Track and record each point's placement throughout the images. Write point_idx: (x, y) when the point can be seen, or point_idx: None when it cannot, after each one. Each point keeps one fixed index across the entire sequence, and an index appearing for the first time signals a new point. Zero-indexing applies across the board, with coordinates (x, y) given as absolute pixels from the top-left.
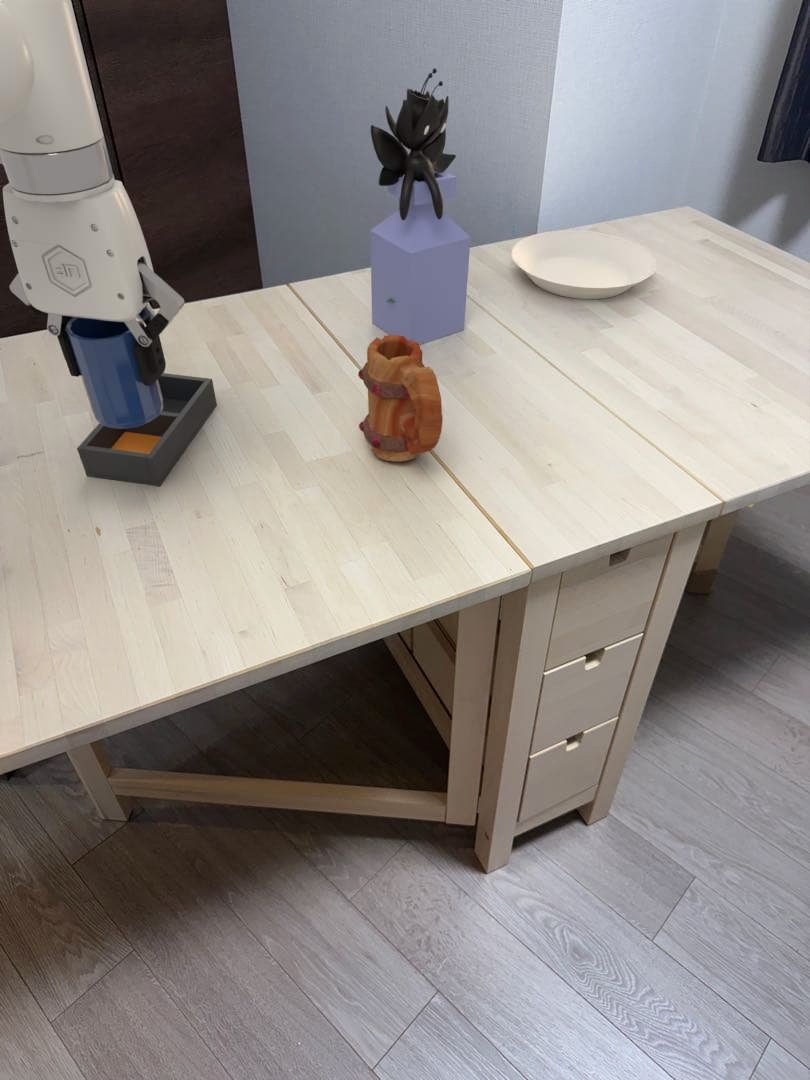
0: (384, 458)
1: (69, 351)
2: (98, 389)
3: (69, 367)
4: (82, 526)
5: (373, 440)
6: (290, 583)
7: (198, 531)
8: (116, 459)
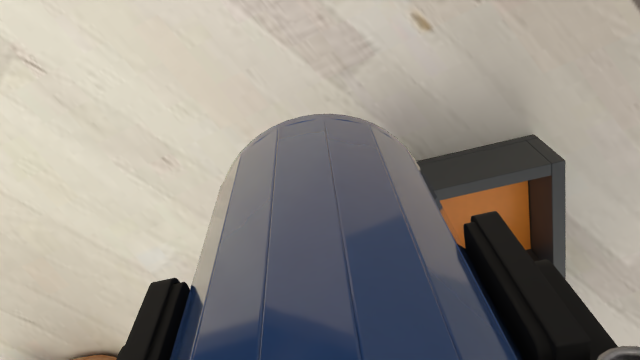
0: (93, 357)
1: (514, 294)
2: (315, 181)
3: (503, 231)
4: (459, 19)
5: None
6: (19, 64)
7: (254, 103)
8: (478, 172)
